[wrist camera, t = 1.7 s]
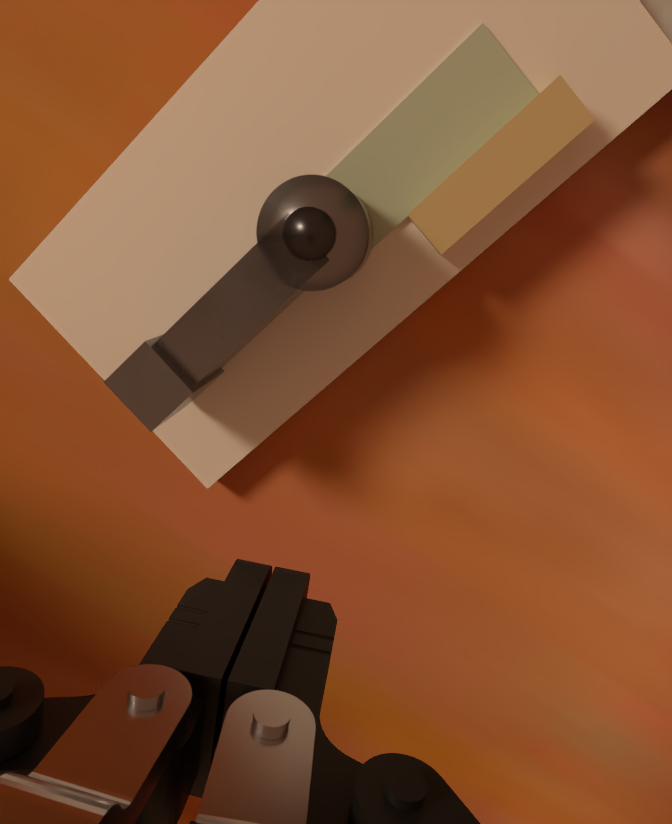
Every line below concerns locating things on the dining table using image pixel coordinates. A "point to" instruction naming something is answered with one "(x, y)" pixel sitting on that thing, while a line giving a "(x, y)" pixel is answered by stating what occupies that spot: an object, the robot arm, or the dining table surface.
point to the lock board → (338, 179)
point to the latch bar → (250, 294)
